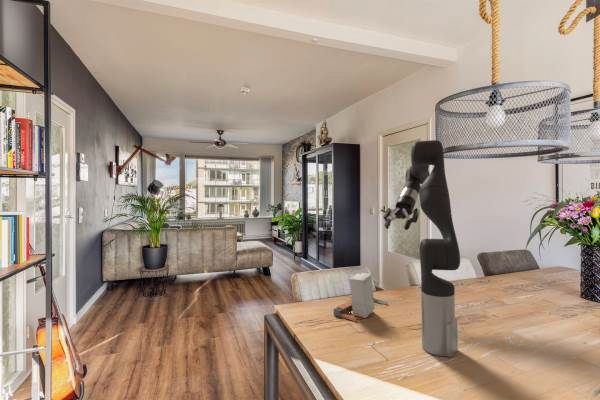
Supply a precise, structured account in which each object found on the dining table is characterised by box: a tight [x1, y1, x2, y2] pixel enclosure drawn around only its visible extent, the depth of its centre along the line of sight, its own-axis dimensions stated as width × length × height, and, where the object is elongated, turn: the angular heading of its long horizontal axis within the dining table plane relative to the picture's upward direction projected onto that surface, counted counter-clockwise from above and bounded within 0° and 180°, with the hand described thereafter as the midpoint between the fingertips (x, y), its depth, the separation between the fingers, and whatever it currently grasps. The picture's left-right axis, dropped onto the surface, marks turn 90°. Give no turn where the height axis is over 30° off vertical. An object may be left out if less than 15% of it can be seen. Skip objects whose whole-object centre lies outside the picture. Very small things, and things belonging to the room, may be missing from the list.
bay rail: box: [333, 297, 388, 323], centre depth 128 cm, size 25×10×3 cm, turn 137°
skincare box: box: [349, 272, 376, 319], centre depth 122 cm, size 8×6×15 cm
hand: (395, 228), depth 131 cm, fingers open, 8 cm apart
